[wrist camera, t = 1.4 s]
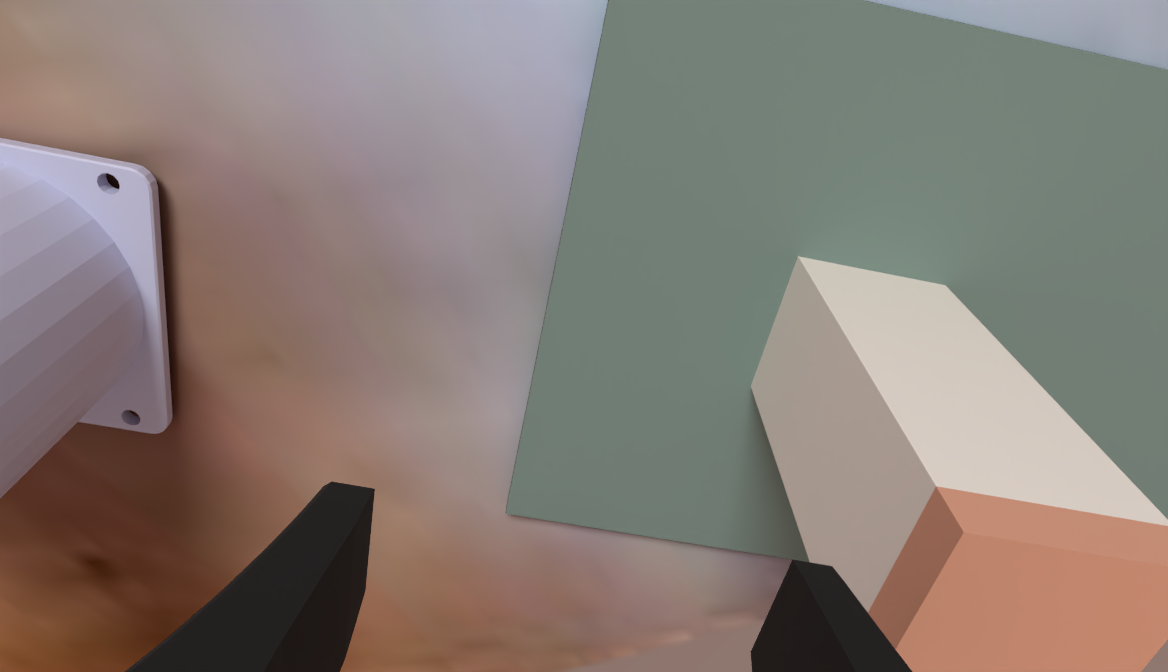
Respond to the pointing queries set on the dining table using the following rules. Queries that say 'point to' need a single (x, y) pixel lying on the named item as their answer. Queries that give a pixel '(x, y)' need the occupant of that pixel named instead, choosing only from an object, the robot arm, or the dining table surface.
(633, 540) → the dining table surface
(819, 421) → the cream block
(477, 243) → the dining table surface
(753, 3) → the green mat
